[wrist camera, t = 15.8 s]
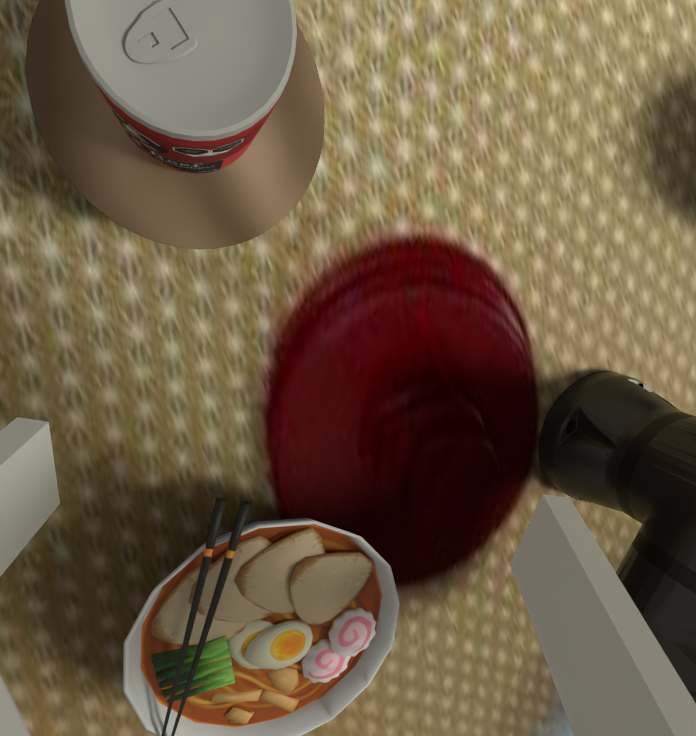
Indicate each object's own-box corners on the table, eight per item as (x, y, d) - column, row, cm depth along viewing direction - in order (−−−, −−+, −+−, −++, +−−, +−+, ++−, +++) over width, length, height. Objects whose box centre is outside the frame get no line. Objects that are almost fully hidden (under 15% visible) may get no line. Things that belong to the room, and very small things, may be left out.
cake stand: (248, -29, 31) (263, -99, 25) (329, 205, 37) (358, 197, 30) (8, 36, 28) (-47, -25, 22) (137, 279, 34) (124, 288, 27)
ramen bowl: (329, 686, 50) (353, 764, 43) (102, 693, 42) (82, 792, 34) (404, 483, 46) (445, 530, 39) (171, 445, 38) (166, 495, 30)
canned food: (83, 103, 24) (7, 7, 14) (176, -12, 24) (166, -188, 14) (202, 205, 28) (208, 185, 18) (285, 103, 28) (338, 25, 18)
